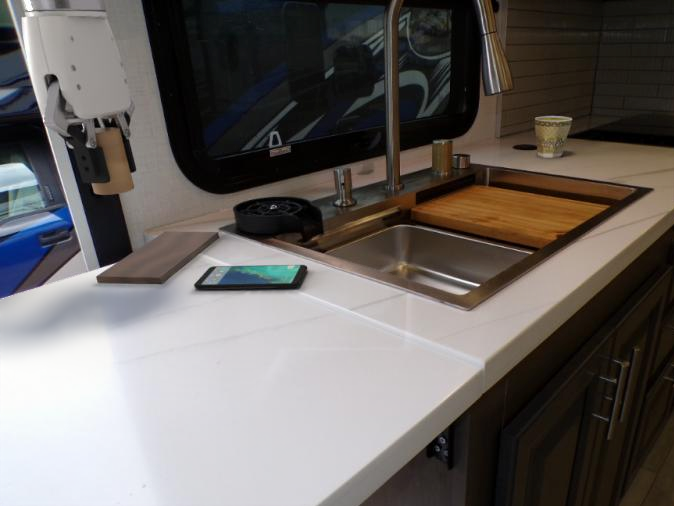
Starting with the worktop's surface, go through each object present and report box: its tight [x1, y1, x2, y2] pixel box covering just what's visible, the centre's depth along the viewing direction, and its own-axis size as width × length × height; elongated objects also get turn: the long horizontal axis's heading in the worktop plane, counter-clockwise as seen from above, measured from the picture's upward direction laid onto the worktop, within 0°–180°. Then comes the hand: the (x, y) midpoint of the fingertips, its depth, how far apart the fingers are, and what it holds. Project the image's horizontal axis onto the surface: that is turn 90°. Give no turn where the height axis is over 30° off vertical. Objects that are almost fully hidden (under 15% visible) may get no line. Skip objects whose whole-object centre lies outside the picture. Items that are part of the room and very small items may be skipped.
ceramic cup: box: [534, 115, 573, 159], centre depth 148 cm, size 13×10×10 cm
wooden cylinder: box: [80, 127, 135, 196], centre depth 62 cm, size 4×4×7 cm
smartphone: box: [193, 264, 308, 290], centre depth 76 cm, size 7×1×15 cm
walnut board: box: [95, 230, 220, 285], centre depth 85 cm, size 10×20×1 cm, turn 174°
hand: (110, 175), depth 63 cm, fingers closed on wooden cylinder, 4 cm apart
